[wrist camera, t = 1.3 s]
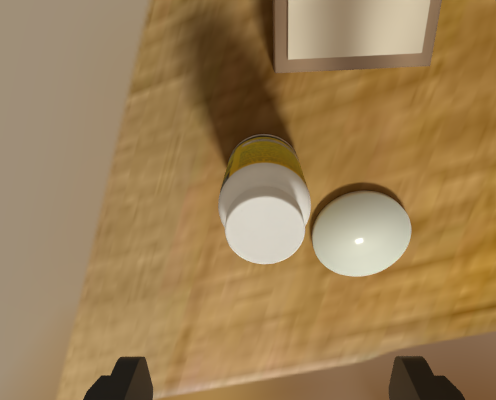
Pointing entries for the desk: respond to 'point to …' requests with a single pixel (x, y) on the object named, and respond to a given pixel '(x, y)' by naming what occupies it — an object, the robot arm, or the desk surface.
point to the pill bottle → (264, 200)
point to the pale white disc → (361, 233)
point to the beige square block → (353, 34)
